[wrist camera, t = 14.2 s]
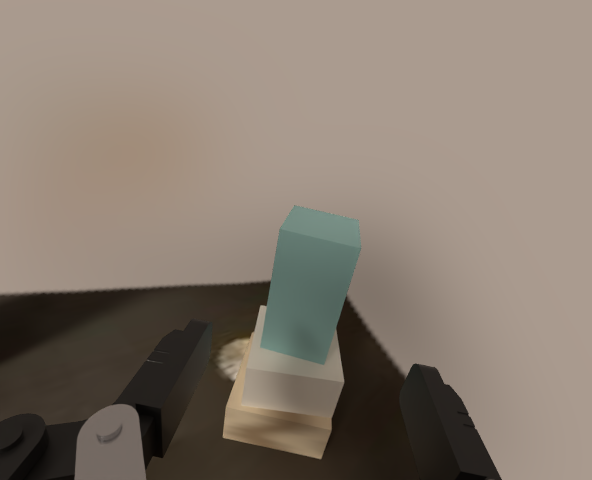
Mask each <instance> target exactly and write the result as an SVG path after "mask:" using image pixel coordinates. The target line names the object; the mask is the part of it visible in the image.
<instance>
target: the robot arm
mask: <svg viewBox="0 0 592 480" xmlns="http://www.w3.org/2000/svg"><path fill="white" fill-rule="evenodd" d="M211 339H212V322H208V321H203V320H198V319H192V320H191V321H190V322H189V324H188V325H187V327H186V328H185V330H184V331H181V330H176V329H175V330H173V331H172V332H171V333H169V334H168V335H166V336H165V337H163V338H162V340H161V341H160V342H159V344H158V345H157V346H156V348H155V349H154V352H152V353H151V354H150V356H149V357H148V358H147V361H145V362H144V364H143V365H142V367H141V368H140V369H139V371H138V372H137V373H136V375H135V376H134V377H133V379H132V380H131V381H130V383H129V384H128V385H127V387H126V388H125V389H124V391H123V392H122V394H121V395H120V396H119V398H118V399H117V400H116V401H115V402H114V403H113V404H112V405H111V406H108V407H106V408H103V409H102V410H100V411H98V412H97V413H95V414H94V415H93V416H91V417H90V418H89V419H87V420H83V421H78V422H71V423H63V424H55V425H48V426H46V425H45V422H44V420H43V418H42V417H40V416H39V415H36V414H20V415H16V416H13V417H10V418H8V419H5V420H3V421H1V422H0V480H146V475H145V470H146V468H147V466H148V464H149V462H150V460H151V458H152V456H155V457H160V458H163V457H164V455H165V453H166V451H167V448H168V446H169V444H170V442H171V440H172V438H173V436H174V434H175V432H176V429H177V427H178V425H179V423H180V421H181V419H182V417H183V415H184V413H185V411H186V408H187V406H188V404H189V402H190V400H191V398H192V396H193V394H194V392H195V390H196V387H197V385H198V383H199V381H200V379H201V377H202V375H203V373H204V371H205V368H206V366H207V364H208V361H209V357H210V352H211ZM399 401H400V408H401V412H402V416H403V419H404V423H405V427H406V430H407V434H408V438H409V441H410V445H411V449H412V452H413V456H414V460H415V463H416V467H417V471H418V474H419V478H420V480H502V479H501V477H500V475H499V473H498V471H497V469H496V467H495V465H494V463H493V461H492V459H491V457H490V455H489V454H488V451H487V449H486V448H485V446H484V443H483V441H482V440H481V437H480V435H479V433H478V432H477V430H476V429H475V426H474V424H473V421H472V419H471V417H469V416H468V411H467V409H466V407H465V405H464V404H463V402H462V400H461V398H460V397H459V396H458V395H457V393H456V392H455V391H454V390H453V389H452V388H451V387H450V385H446V384H444V383H443V380H442V378H441V376H440V374H439V372H438V370H437V369H436V368H435V367H430V366H425V365H419V364H413V366H412V367H411V369H410V371H409V373H408V376H407V378H406V380H405V382H404V384H403V386H402V388H401V391H400V398H399Z"/></svg>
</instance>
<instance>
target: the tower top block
mask: <svg viewBox="0 0 592 480" xmlns="http://www.w3.org/2000/svg"><path fill="white" fill-rule="evenodd" d="M266 309H267V306H260V310H259V314H258V319H257V323H256V328H255V332H254V336H253V341H252V345H251V349H250V354H249V358H248V362H247V367H246V373H245V381H244V388H243V395H242V403H241V405H242V406H249V407H256V408H263V409H270V410H277V411H284V412H292V413H299V414H306V415H313V416H320V417H327V418H332V416H333V413H334V410H335V407H336V405H337V402H338V399H339V396H340V393H341V390H342V387H343V385H344V377H343V370H342V364H341V357H340V351H339V344H338V338H337V331H336V329H335V332H334V336H333V339H332V342H331V345H330V348H329V351H328V354H327V358H326V361H325V364H324V365H322V364H318V363H314V362H311V361H307V360H304V359H300V358H296V357H293V356H289V355H286V354H282V353H278V352H275V351H271V350H268V349H264V348H260V345H261V339H262V333H263V327H264V321H265V315H266Z"/></svg>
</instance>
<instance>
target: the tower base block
mask: <svg viewBox="0 0 592 480" xmlns="http://www.w3.org/2000/svg"><path fill="white" fill-rule="evenodd" d="M253 336H254V332H252V335H251V337H250V340H249V343H248V346H247V349H246V352H245V354H244V357H243V360H242V363H241V366H240V369H239V372H238V374H237V377H236V380H235V383H234V386H233V389H232V391H231V394H230V397H229V400H228V403H227V406H226V412H225V421H224V430H223V438H227V439H232V440H236V441H241V442H246V443H250V444H255V445H259V446H264V447H268V448H273V449H277V450H282V451H287V452H291V453H296V454H300V455H305V456H309V457H314V458H319V459H321V458H322V455H323V452H324V450H325V447H326V444H327V441H328V439H329V436H330V433H331V430H332V423H331V418H327V417H320V416H313V415H306V414H299V413H292V412H284V411H277V410H270V409H263V408H256V407H249V406H242V405H241V403H242V395H243V388H244V381H245V373H246V367H247V362H248V358H249V354H250V349H251V345H252V341H253Z"/></svg>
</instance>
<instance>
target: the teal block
mask: <svg viewBox="0 0 592 480" xmlns="http://www.w3.org/2000/svg"><path fill="white" fill-rule="evenodd" d="M360 250H361V242H360V231H359V220H356V219H352V218H347V217H343V216H338V215H335V214H330V213H326V212H321V211H317V210H313V209H308V208H304V207H300V206H294V207H293V209H292V210H291V212H290V213H289V215H288V217H287V218H286V220H285V221H284V223H283V225H282V226H281V228H280V231H279V237H278V243H277V249H276V255H275V261H274V267H273V273H272V279H271V285H270V291H269V297H268V303H267V309H266V315H265V321H264V327H263V333H262V339H261V345H260V348H264V349H268V350H271V351H275V352H278V353H282V354H286V355H289V356H293V357H296V358H300V359H304V360H307V361H311V362H314V363H318V364H322V365H324V364H325V361H326V358H327V354H328V351H329V348H330V345H331V342H332V339H333V336H334V332H335V329H336V326H337V323H338V320H339V317H340V313H341V310H342V307H343V304H344V301H345V298H346V295H347V291H348V288H349V285H350V282H351V278H352V276H353V272H354V269H355V266H356V263H357V260H358V257H359V253H360Z"/></svg>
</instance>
